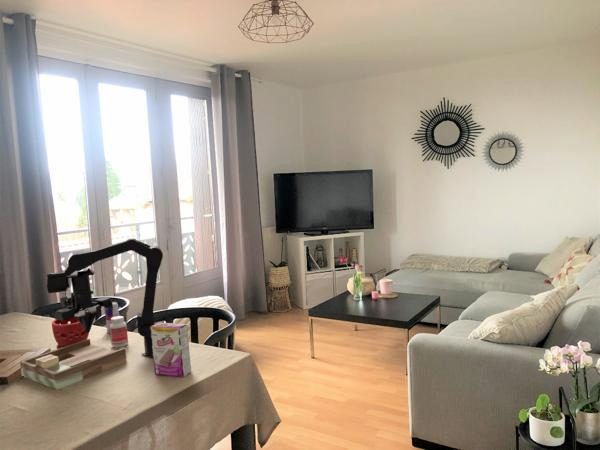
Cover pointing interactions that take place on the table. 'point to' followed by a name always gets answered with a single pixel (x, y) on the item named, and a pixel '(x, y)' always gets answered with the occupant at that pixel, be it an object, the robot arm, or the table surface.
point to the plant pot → (68, 332)
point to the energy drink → (111, 314)
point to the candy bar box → (170, 349)
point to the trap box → (73, 364)
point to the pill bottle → (118, 332)
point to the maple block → (48, 362)
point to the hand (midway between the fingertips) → (87, 332)
